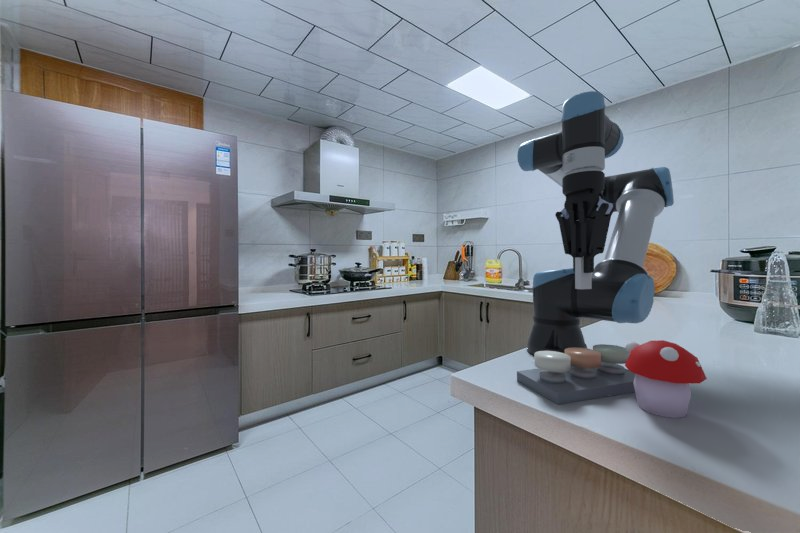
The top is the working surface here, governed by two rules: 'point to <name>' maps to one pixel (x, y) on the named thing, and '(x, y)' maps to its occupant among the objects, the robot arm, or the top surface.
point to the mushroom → (663, 376)
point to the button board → (579, 382)
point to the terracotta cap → (584, 357)
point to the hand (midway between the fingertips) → (583, 288)
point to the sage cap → (612, 353)
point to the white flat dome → (552, 361)
